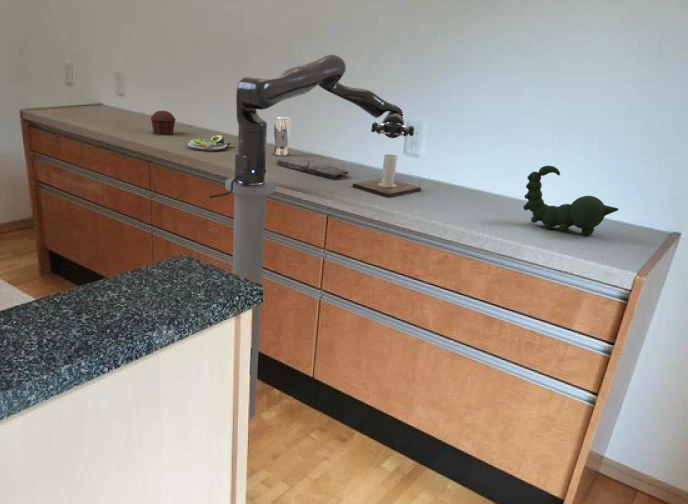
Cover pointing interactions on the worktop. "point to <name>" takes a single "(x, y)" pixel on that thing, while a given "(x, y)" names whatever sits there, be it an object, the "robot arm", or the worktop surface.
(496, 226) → the worktop surface
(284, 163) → the stone slab
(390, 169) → the white cylinder
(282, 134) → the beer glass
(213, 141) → the salad plate
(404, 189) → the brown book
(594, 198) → the toy figurine
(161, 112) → the muffin
